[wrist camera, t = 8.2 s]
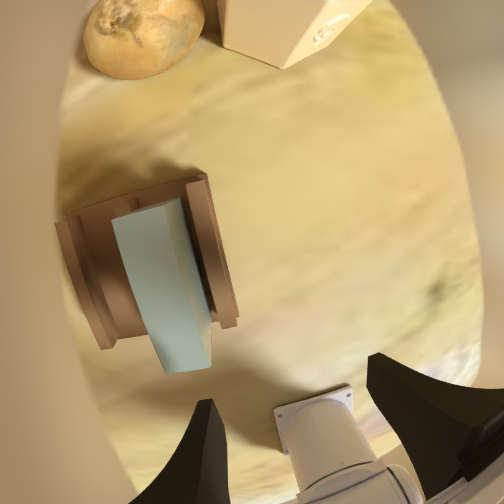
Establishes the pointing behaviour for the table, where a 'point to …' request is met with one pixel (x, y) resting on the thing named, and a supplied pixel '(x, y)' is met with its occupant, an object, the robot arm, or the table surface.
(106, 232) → the rack
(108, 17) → the onion
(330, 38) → the jar
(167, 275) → the pale green prism
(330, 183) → the table surface
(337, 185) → the table surface
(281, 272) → the table surface
